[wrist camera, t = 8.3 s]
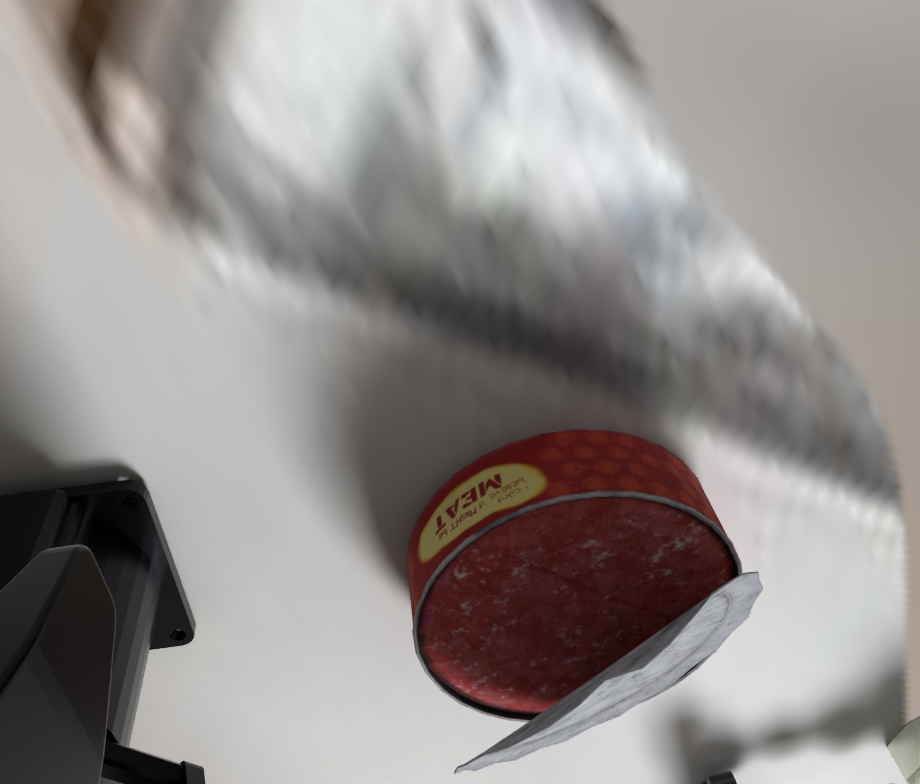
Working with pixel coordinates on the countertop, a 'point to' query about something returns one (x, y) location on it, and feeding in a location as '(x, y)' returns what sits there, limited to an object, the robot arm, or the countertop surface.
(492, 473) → the canned food
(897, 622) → the countertop surface
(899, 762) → the valve
